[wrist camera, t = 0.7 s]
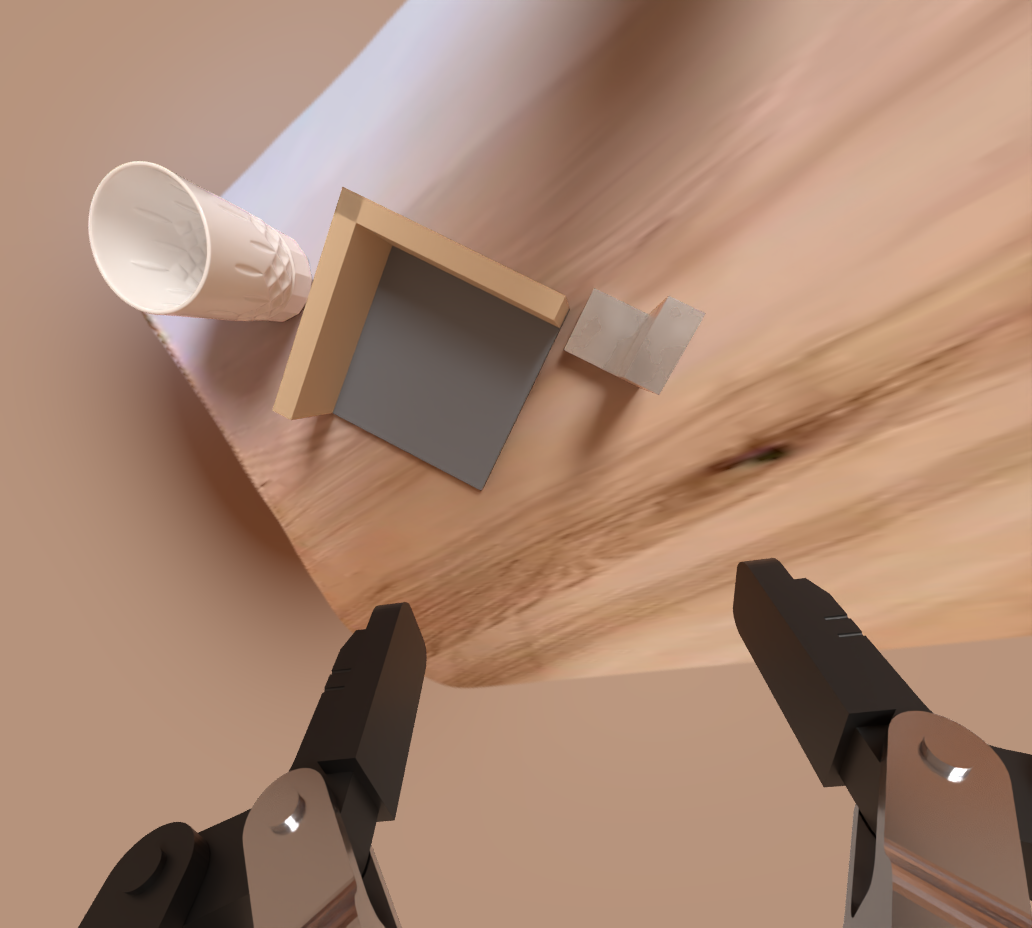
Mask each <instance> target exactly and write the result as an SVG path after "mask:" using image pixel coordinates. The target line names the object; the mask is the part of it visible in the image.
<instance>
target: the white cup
mask: <svg viewBox="0 0 1032 928" xmlns="http://www.w3.org/2000/svg"><path fill="white" fill-rule="evenodd" d="M88 231H89V240H90V246H91V250H92V254H93V257H94V260H95V262H96V265H97V267H98V269H99V271H100V273H101V275H102V277H103V278H104V280H105V281H106V283H107V284H108V285H109V287H110V288H111V289H112V290H113V292H114V293H115V294H116V295H117V296H118V297H119V298H121V299H122V300H123V301H124V302H126V303H127V304H128V305H130V306H132V307H133V308H135V309H137V310H140V311H142V312H145V313H149V314H155V315H168V316H181V317H193V318H206V319H219V320H231V321H254V320H261V321H277V322H284V321H286V320H288V319H290V318H292V317H294V316H295V315H297V314H299V313H300V311H301V310H302V308H303V307H304V305H305V304H306V302H307V299H308V295H309V292H310V289H311V283H312V275H311V271H310V267H309V262H308V258H307V256H306V255H305V254H304V252H303V251H302V249H301V248H300V247H299V245H298V244H297V242H296V241H295V240H294V239H292V238H290V237H289V236H287V235H285V234H284V233H282V232H280V231H278V230H277V229H275V228H273V227H271V226H269V225H267V224H266V223H265V222H264V221H263V220H261V219H259V218H258V217H256V216H254V215H252V214H250V213H249V212H247V211H246V210H244V209H242V208H240V207H238V206H236V205H234V204H232V203H230V202H228V201H226V200H225V199H223V198H221V197H219V196H217V195H215V194H213V193H211V192H210V191H208V190H206V189H204V188H202V187H200V186H198V185H196V184H194V183H192V182H190V181H188V180H187V179H185V178H183V177H181V176H179V175H177V174H175V173H174V172H172V171H170V170H168V169H166V168H164V167H162V166H160V165H157V164H154V163H150V162H144V161H135V162H129V163H125V164H123V165H120V166H118V167H117V168H115V169H113V170H112V171H111V172H109V173H108V174H107V175H106V176H105V177H104V179H103V180H102V181H101V182H100V184H99V186H98V188H97V189H96V191H95V193H94V196H93V199H92V202H91V206H90V211H89V219H88Z"/></svg>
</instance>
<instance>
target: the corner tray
mask: <svg viewBox="0 0 1032 928" xmlns="http://www.w3.org/2000/svg"><path fill="white" fill-rule="evenodd" d="M569 310H570V308H569V305H568V302H567V299H566V296H565V295H563V294H561V293H559V292H557V291H555V290H553V289H551V288H548V287H546V286H544V285H542V284H540V283H538V282H536V281H534V280H532V279H530V278H528V277H526V276H524V275H522V274H520V273H518V272H516V271H514V270H512V269H510V268H508V267H506V266H504V265H502V264H499V263H497V262H495V261H493V260H491V259H489V258H487V257H485V256H483V255H481V254H479V253H477V252H475V251H473V250H471V249H469V248H467V247H465V246H463V245H461V244H459V243H457V242H455V241H452V240H450V239H448V238H446V237H444V236H442V235H440V234H438V233H436V232H434V231H432V230H430V229H428V228H426V227H424V226H422V225H420V224H418V223H416V222H414V221H412V220H410V219H408V218H406V217H403V216H401V215H399V214H397V213H395V212H393V211H391V210H389V209H387V208H385V207H383V206H381V205H379V204H377V203H375V202H373V201H371V200H369V199H367V198H365V197H363V196H361V195H359V194H357V193H354V192H352V191H350V190H348V189H346V188H344V187H342V191H341V194H340V197H339V200H338V203H337V207H336V210H335V213H334V216H333V219H332V222H331V226H330V229H329V232H328V235H327V238H326V241H325V245H324V248H323V251H322V254H321V257H320V261H319V264H318V267H317V270H316V273H315V276H314V280H313V283H312V286H311V289H310V292H309V295H308V299H307V302H306V305H305V308H304V311H303V315H302V318H301V321H300V324H299V327H298V330H297V334H296V337H295V340H294V343H293V346H292V349H291V353H290V356H289V359H288V362H287V365H286V368H285V372H284V375H283V378H282V381H281V384H280V388H279V391H278V394H277V397H276V400H275V403H274V407H273V411H275V412H277V413H278V414H280V415H282V416H284V417H286V418H288V419H290V420H295V419H301V418H306V417H312V416H318V415H324V414H330V413H333V414H335V415H337V416H339V417H341V418H343V419H345V420H347V421H349V422H351V423H352V424H354V425H356V426H358V427H360V428H362V429H364V430H366V431H368V432H370V433H372V434H374V435H375V436H377V437H379V438H381V439H383V440H385V441H387V442H389V443H391V444H393V445H395V446H396V447H398V448H400V449H402V450H404V451H406V452H408V453H410V454H412V455H414V456H416V457H418V458H419V459H421V460H423V461H425V462H427V463H429V464H431V465H433V466H435V467H437V468H439V469H441V470H442V471H444V472H446V473H448V474H450V475H452V476H454V477H456V478H458V479H460V480H462V481H463V482H465V483H467V484H469V485H471V486H473V487H475V488H477V489H479V490H482V489H483V488H484V486H485V484H486V481H487V479H488V477H489V475H490V473H491V471H492V469H493V467H494V465H495V463H496V461H497V459H498V457H499V455H500V453H501V450H502V448H503V446H504V444H505V442H506V440H507V438H508V436H509V434H510V432H511V430H512V428H513V426H514V424H515V421H516V419H517V417H518V415H519V413H520V411H521V409H522V407H523V405H524V403H525V401H526V399H527V397H528V395H529V393H530V390H531V388H532V386H533V384H534V382H535V380H536V378H537V376H538V374H539V372H540V370H541V368H542V366H543V364H544V361H545V359H546V357H547V355H548V353H549V351H550V349H551V347H552V345H553V343H554V341H555V339H556V337H557V335H558V333H559V330H560V328H561V326H562V324H563V322H564V320H565V318H566V316H567V314H568V312H569Z"/></svg>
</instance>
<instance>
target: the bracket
mask: <svg viewBox="0 0 1032 928" xmlns="http://www.w3.org/2000/svg"><path fill="white" fill-rule="evenodd" d="M705 314H706V313H704V312H702V311H699V310H697V309H695V308H693V307H691V306H689V305H687V304H685V303H683V302H681V301H679V300H677V299H675V298H673V297H670V296H668V297H667V298H666V299H664V300H663V301H662V302H661V303H660V304H659V305H658V306H657V307H656V308H655V309H654V310H653V311H652V312H651V313H650V314H647V313H645V312H642V311H640V310H638V309H636V308H634V307H632V306H630V305H628V304H626V303H624V302H622V301H620V300H618V299H616V298H614V297H612V296H610V295H608V294H605V293H603V292H601V291H599V290H597V289H595V288H594V289H593V292H592V294H591V296H590V298H589V300H588V302H587V304H586V306H585V308H584V310H583V312H582V314H581V316H580V318H579V320H578V322H577V324H576V326H575V328H574V330H573V332H572V334H571V336H570V338H569V340H568V342H567V344H566V346H565V348H564V350H565V351H566V352H568V353H570V354H572V355H574V356H577V357H579V358H581V359H583V360H585V361H587V362H589V363H591V364H593V365H595V366H597V367H599V368H601V369H603V370H605V371H607V372H609V373H611V374H613V375H615V376H617V377H619V378H621V379H623V380H625V381H627V382H629V383H631V384H633V385H635V386H637V387H639V388H641V389H644V390H647V391H650V392H652V393H655V394H658V395H659V394H660V393H661V391H662V389H663V387H664V386H665V384H666V382H667V380H668V379H669V377H670V375H671V373H672V372H673V370H674V368H675V366H676V365H677V363H678V361H679V359H680V358H681V356H682V354H683V352H684V351H685V349H686V347H687V345H688V343H689V342H690V340H691V338H692V336H693V335H694V333H695V331H696V329H697V328H698V326H699V324H700V322H701V321H702V319H703V317H704V315H705Z"/></svg>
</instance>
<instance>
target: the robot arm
mask: <svg viewBox="0 0 1032 928" xmlns="http://www.w3.org/2000/svg"><path fill="white" fill-rule="evenodd" d="M733 614H734V619H735V623H736V626H737V629H738V632H739V634H740V636H741V638H742V640H743V641H744V643H745V645H746V647H747V649H748V650H749V652H750V654H751V656H752V658H753V659H754V661H755V663H756V665H757V667H758V668H759V670H760V672H761V674H762V676H763V678H764V679H765V681H766V683H767V685H768V687H769V688H770V690H771V692H772V694H773V696H774V698H775V699H776V701H777V703H778V705H779V706H780V709H781V710H782V712H783V714H784V716H785V718H786V719H787V721H788V723H789V725H790V727H791V728H792V730H793V732H794V734H795V735H796V738H797V739H798V741H799V743H800V745H801V747H802V749H803V750H804V752H805V754H806V755H807V758H808V759H809V761H810V763H811V765H812V767H813V768H814V770H815V772H816V774H817V776H818V777H819V779H820V781H821V783H822V785H823V787H834V786H846V787H847V789H848V791H849V792H850V794H851V796H852V798H853V799H854V801H855V803H856V805H855V808H854V816H853V827H852V839H851V850H850V861H849V872H848V883H847V895H846V906H845V916H844V924H843V928H1032V912H1031V906H1030V900H1031V901H1032V755H1030V754H1026V753H1021V752H1015V751H1011V750H1006V749H1002V748H997V747H994V746H991V745H988V744H986V743H985V742H984V741H983V740H982V739H981V738H980V737H978V736H977V735H976V734H974V733H973V732H971V731H970V730H968V729H967V728H965V727H964V726H962V725H960V724H958V723H956V722H954V721H952V720H950V719H948V718H946V717H943V716H940V715H937V714H934V713H933V712H932V711H930V710H929V709H928V708H927V706H926V705H925V704H924V703H923V702H922V701H921V700H920V699H919V698H918V696H917V695H916V694H915V693H914V692H913V691H912V689H911V688H910V687H909V686H908V685H907V684H906V682H905V681H904V680H903V679H902V678H901V677H900V675H899V674H898V673H897V672H896V671H895V670H894V669H893V667H892V666H891V665H890V664H889V663H888V661H887V660H886V659H885V658H884V657H883V656H882V655H881V653H880V652H879V651H878V650H877V649H876V647H875V646H874V645H873V644H872V643H871V642H870V640H869V639H868V638H867V637H866V636H863V635H862V631H861V630H860V629H859V628H858V626H857V625H856V624H855V623H854V622H853V621H852V619H851V618H850V619H849V618H848V617H847V614H846V612H845V611H844V610H843V609H842V608H841V607H840V605H839V604H838V603H837V602H836V601H835V600H834V598H833V597H832V596H831V595H830V594H829V593H827V592H826V591H824V590H823V589H821V588H820V587H818V586H817V585H815V584H814V583H812V582H811V581H809V580H808V579H806V578H802V579H793V578H792V576H791V575H790V574H789V573H788V571H787V570H786V569H785V568H784V566H783V565H782V564H781V563H780V562H779V561H778V560H777V559H775V558H770V559H761V560H753V561H745V562H740V563H739V564H738V566H737V574H736V583H735V593H734V603H733ZM425 669H426V647H425V642H424V640H423V637H422V634H421V632H420V629H419V627H418V624H417V622H416V619H415V617H414V614H413V612H412V609H411V607H410V605H409V604H408V603H407V602H403V603H395V604H387V605H379V606H376V607H375V608H374V610H373V612H372V615H371V617H370V620H369V623H368V625H367V628H366V629H363V630H356V631H355V632H354V634H353V635H352V636H351V637H350V638H349V640H348V641H347V642H346V643H345V645H344V646H343V647H342V648H341V649H340V652H339V654H338V657H337V659H336V662H335V664H334V666H333V669H332V675H330V676H329V678H328V681H327V683H326V686H325V692H324V693H322V695H321V698H320V700H319V702H318V705H317V707H316V710H315V712H314V715H313V717H312V719H311V722H310V724H309V726H308V729H307V731H306V734H305V736H304V739H303V741H302V743H301V746H300V748H299V751H298V753H297V756H296V758H295V760H294V762H293V765H292V767H291V768H290V770H289V772H288V773H286V774H284V775H282V776H281V777H279V778H278V779H277V780H275V781H274V782H273V783H272V784H271V785H270V786H269V787H268V788H266V789H265V791H264V792H263V793H262V794H261V795H260V797H259V798H258V799H257V801H256V802H255V804H254V805H253V807H252V808H251V809H249V810H247V811H245V812H243V813H241V814H239V815H237V816H235V817H232V818H230V819H228V820H226V821H223V822H221V823H219V824H217V825H214V826H212V827H210V828H208V829H206V830H204V831H201V832H199V833H197V832H196V831H195V830H193V829H192V828H191V827H190V826H189V825H187V824H186V823H182V822H173V823H169V824H166V825H163V826H161V827H159V828H157V829H155V830H153V831H152V832H151V833H149V834H147V835H146V836H145V837H143V838H142V839H141V840H140V841H138V842H137V843H136V844H135V845H134V846H133V847H132V848H131V849H130V850H129V851H128V852H127V853H126V854H125V855H124V856H123V857H122V858H121V860H120V861H119V862H118V863H117V865H116V866H115V867H114V869H113V870H112V871H111V873H110V875H109V876H108V878H107V879H106V881H105V883H104V885H103V886H102V888H101V890H100V891H99V893H98V895H97V896H96V898H95V900H94V901H93V903H92V905H91V907H90V908H89V910H88V912H87V914H86V915H85V917H84V919H83V920H82V922H81V924H80V925H79V927H78V928H402V927H401V924H400V921H399V918H398V916H397V913H396V910H395V908H394V905H393V902H392V899H391V896H390V894H389V891H388V888H387V886H386V883H385V880H384V877H383V875H382V872H381V869H380V867H379V864H378V861H377V858H376V855H375V853H374V850H373V848H372V845H371V843H372V838H373V834H374V830H375V826H376V822H380V821H392V820H395V816H396V811H397V806H398V801H399V796H400V791H401V786H402V781H403V777H404V772H405V766H406V762H407V757H408V752H409V747H410V742H411V738H412V733H413V728H414V723H415V718H416V713H417V708H418V703H419V699H420V693H421V689H422V683H423V679H424V674H425Z"/></svg>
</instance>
